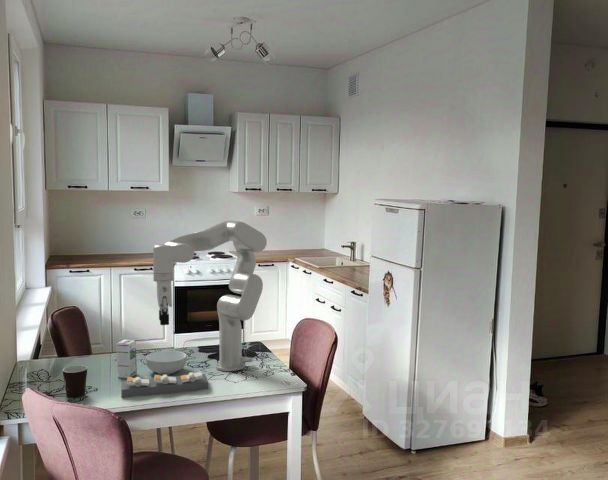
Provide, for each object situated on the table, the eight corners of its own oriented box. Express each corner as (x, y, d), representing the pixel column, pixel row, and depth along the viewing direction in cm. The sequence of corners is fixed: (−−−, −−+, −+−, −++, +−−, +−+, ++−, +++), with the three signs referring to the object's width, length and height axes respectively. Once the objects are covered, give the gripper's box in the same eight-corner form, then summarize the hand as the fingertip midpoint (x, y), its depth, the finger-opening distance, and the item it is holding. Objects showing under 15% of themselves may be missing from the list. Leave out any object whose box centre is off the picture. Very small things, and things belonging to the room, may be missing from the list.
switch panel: (205, 381, 229) (204, 373, 229) (208, 389, 220) (208, 381, 219) (121, 388, 220) (121, 380, 219) (121, 397, 210) (121, 388, 210)
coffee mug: (84, 398, 209) (83, 372, 208) (59, 399, 208) (59, 372, 207) (93, 387, 220) (92, 362, 219) (70, 388, 219) (69, 362, 219)
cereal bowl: (172, 380, 230) (172, 363, 229) (137, 375, 235) (137, 358, 235) (194, 368, 245) (194, 352, 245) (161, 363, 251) (161, 348, 250)
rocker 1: (148, 383, 218) (149, 377, 218) (148, 387, 214) (149, 381, 214) (126, 382, 215) (127, 375, 215) (126, 385, 211) (127, 379, 211)
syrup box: (130, 378, 231) (129, 343, 230) (116, 377, 232) (116, 342, 231) (136, 374, 237) (136, 340, 236) (123, 373, 238) (123, 339, 237)
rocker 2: (201, 375, 224) (200, 369, 223) (203, 379, 220) (202, 373, 219) (181, 380, 222) (180, 374, 221) (182, 384, 217) (181, 378, 217)
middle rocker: (174, 381, 221) (175, 375, 221) (175, 385, 217) (176, 379, 217) (153, 379, 218) (154, 373, 218) (154, 383, 214) (155, 377, 214)
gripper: (175, 280, 211) (175, 327, 212) (171, 273, 227) (172, 317, 229) (154, 280, 208) (155, 328, 210) (152, 273, 225) (152, 318, 227)
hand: (163, 322), depth 219 cm, fingers open, 7 cm apart
